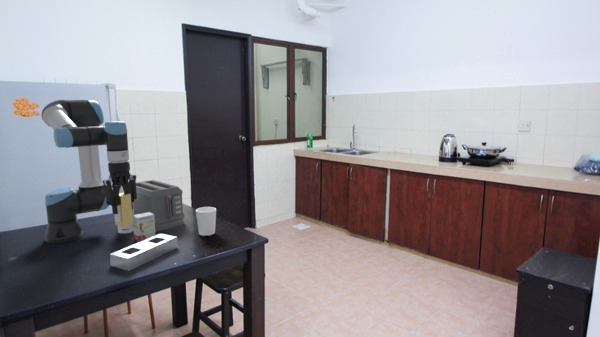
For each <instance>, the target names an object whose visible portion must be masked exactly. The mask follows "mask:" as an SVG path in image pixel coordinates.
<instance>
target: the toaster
mask: <svg viewBox="0 0 600 337" xmlns="http://www.w3.org/2000/svg"><path fill="white" fill-rule="evenodd" d="M136 194H137V199H135V201H134V202H133V203H134V215H137V214H142V213H147V212H151V213H153V214H154V219H155V232H160V231H164V230H167V229H171V228H174V227H179V226H181V225H184V223H185V221H184V220H185V214H184V210H183V209H184V207H183V190H182V189H181V188H180V187H179V186H177V185H173V184H170V183H166V182H163V181H158V180H155V179H152V180H151V179H150V180H143V181H138V182H136Z"/></svg>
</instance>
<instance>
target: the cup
mask: <svg viewBox="0 0 600 337" xmlns="http://www.w3.org/2000/svg"><path fill="white" fill-rule="evenodd" d="M195 216H196V223H197V229H198V235H199V236H201V237H202V238H205V237H206V236H207V237H212V235H215V233H216V221H217V208H216V207H213V206H203V207H198V208H196V209H195Z"/></svg>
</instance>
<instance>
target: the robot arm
mask: <svg viewBox="0 0 600 337" xmlns="http://www.w3.org/2000/svg"><path fill="white" fill-rule="evenodd" d="M41 118H42V121H43V122H44V123H45V124H46V126H48V127H50V128H52V130H53V140H54V144H55V146H56V147H57V148H60V149H61V148H66V149H69V148H77V151H78V159H79V160H78V161H79V170H80V183H79V184H78V185H77V186H78V189H74V188H73V187H63V188H62V187H61V188H57V189H54V190H51V191H49V192H47V193H46V195H45V196H44V199H45V201H44V205H45V209H46V219H47V220H46V221H47V227H46V231H45V234H44V240H45V243H47V244H63V243H68V242H73V241H77V240H79V239H81V238H82V237H83V234H84V233H83V229H82V227H81V225H80V223H79V221H78V217H77V215H82V214H86V213H93V212H100V211H104V210H107V209H108V208H109V206H111V208H112V211H111V212H112V215H114V223H115V222H121V213H120V205H118V199H119V190H120V188H121V186H122V187H123V190H124V193H129V194H131V206H132V209H133V202H134V201H135V199H137V194H136V183H137V182H136V181H137V175H136V174H131V173H130V171H131V166H130V161H129V160H130V155H129V154H130V152H129V143H128V142H129V140H128V129H127V124H126V122H125V121H119V120H118V121H117V120H116V121H115V120H114V121H106V122H104V112H103V110H102V107H101V104H99V102H98V101H96V100H92V99H58V100H55V101H51V102H49V103H48V104H46V105H45V106H44V107H43V109H42V111H41ZM103 124H104V125H103ZM99 146H106V155H107V156H106V159H107V162H108V164H107V168H108V172H109V176H108V178H107V179H103V180H102V171H101V170H102V169H101V161H100V160H101V159H100V153H99V152H100V150H99ZM132 218H133V217H132Z"/></svg>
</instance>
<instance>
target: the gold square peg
mask: <svg viewBox="0 0 600 337" xmlns="http://www.w3.org/2000/svg"><path fill="white" fill-rule="evenodd" d="M118 205H120V213H121V222H115V221H114V225H115V226H117V225H120V226H125V225H128V224H131V223H133V218H132V206H131V194H129V193H119V199H118Z"/></svg>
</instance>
